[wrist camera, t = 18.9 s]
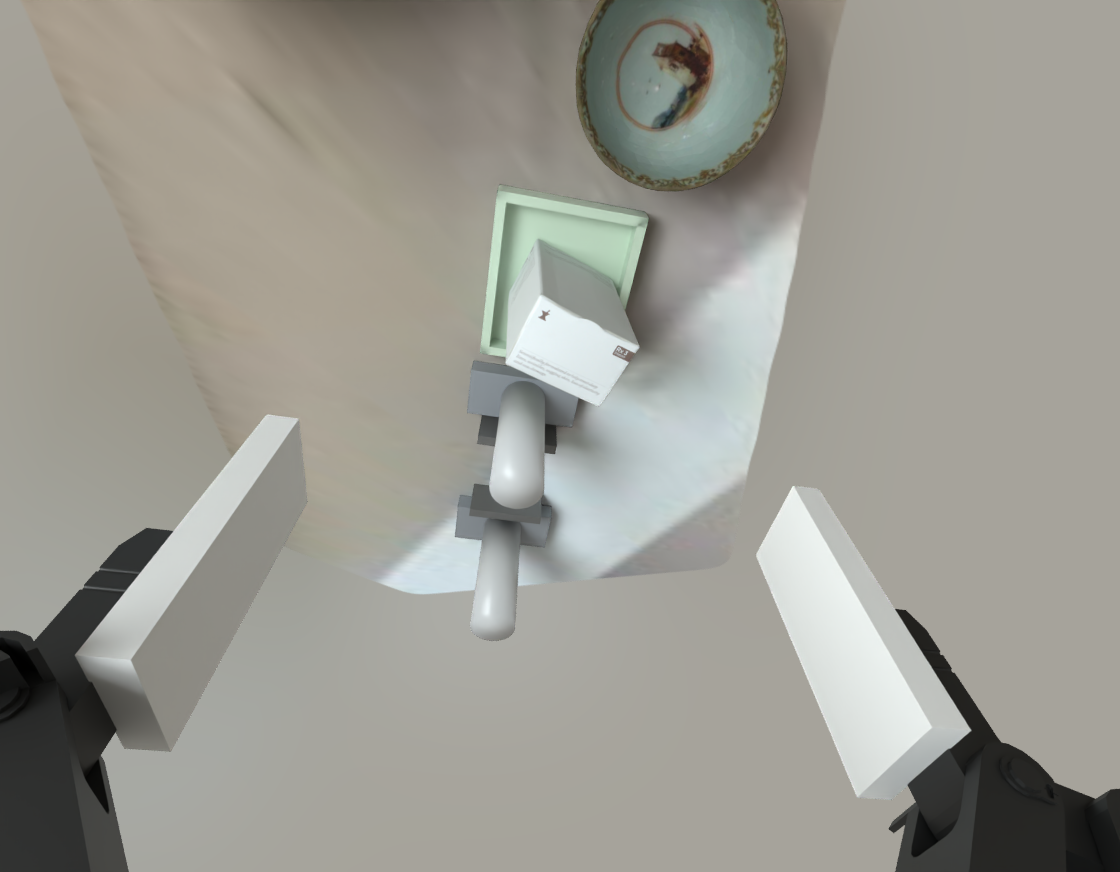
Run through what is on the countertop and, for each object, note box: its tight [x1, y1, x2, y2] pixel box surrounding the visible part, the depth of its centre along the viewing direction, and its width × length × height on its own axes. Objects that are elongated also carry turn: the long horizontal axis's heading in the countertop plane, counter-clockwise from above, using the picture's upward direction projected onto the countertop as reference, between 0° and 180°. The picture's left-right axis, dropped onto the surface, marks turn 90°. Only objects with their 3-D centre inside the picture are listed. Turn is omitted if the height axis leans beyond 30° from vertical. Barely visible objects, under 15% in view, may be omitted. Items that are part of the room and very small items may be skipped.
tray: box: [480, 185, 649, 357], centre depth 50 cm, size 13×15×2 cm
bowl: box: [576, 0, 787, 191], centre depth 39 cm, size 14×14×8 cm
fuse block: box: [455, 361, 579, 641], centre depth 56 cm, size 11×23×16 cm, turn 170°
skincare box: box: [506, 239, 640, 407], centre depth 44 cm, size 8×6×15 cm
